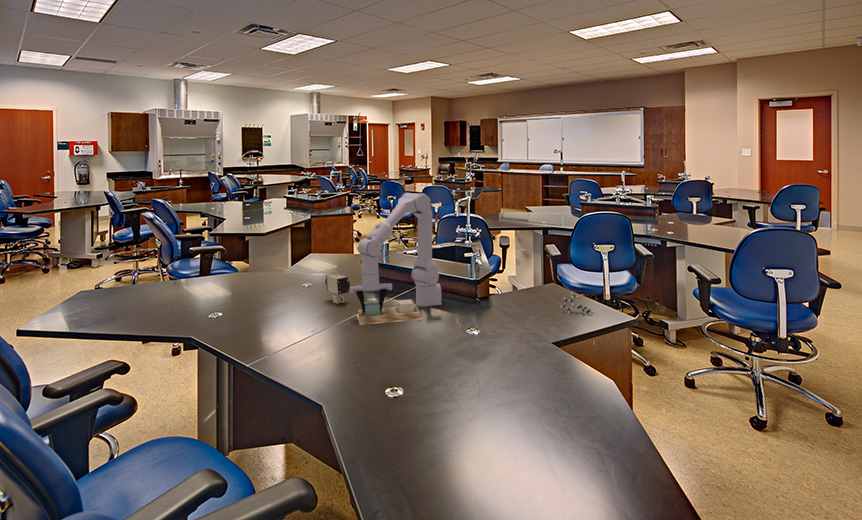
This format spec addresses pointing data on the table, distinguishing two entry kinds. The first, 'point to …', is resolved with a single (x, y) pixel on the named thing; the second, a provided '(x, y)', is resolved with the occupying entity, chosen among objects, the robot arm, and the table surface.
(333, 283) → the pneumatic valve
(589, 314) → the molecule model
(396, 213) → the robot arm
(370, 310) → the teal block
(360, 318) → the assembly board
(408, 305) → the cream block
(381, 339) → the table surface
